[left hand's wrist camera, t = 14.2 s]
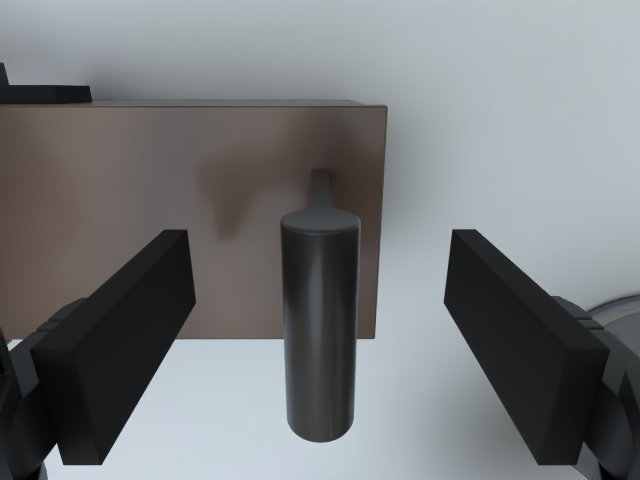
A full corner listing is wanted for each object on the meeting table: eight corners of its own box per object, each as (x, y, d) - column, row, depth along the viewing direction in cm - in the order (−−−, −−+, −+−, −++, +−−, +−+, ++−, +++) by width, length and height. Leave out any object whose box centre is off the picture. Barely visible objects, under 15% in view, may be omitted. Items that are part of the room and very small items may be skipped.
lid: (383, 104, 16) (454, 120, 7) (372, 326, 19) (412, 505, 11) (-52, 104, 16) (-464, 119, 7) (15, 326, 19) (-216, 506, 11)
